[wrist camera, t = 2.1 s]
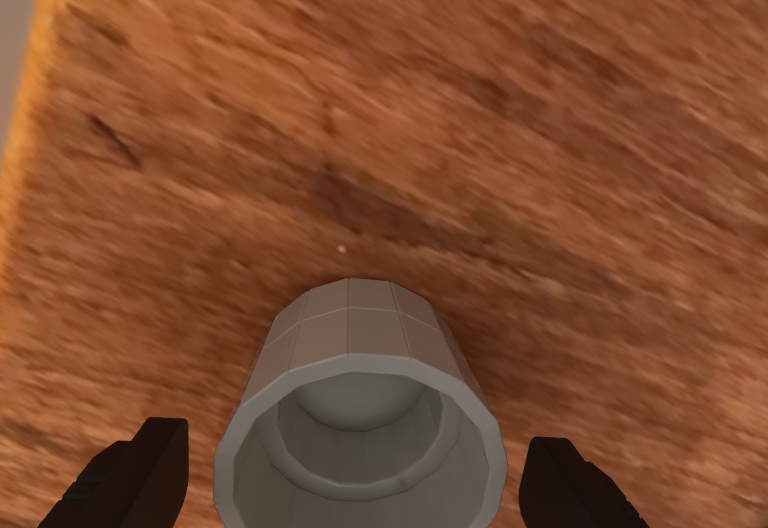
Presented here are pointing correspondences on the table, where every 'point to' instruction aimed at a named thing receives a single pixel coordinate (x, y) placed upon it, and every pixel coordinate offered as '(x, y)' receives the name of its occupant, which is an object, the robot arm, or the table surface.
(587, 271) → the table surface
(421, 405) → the white cup
